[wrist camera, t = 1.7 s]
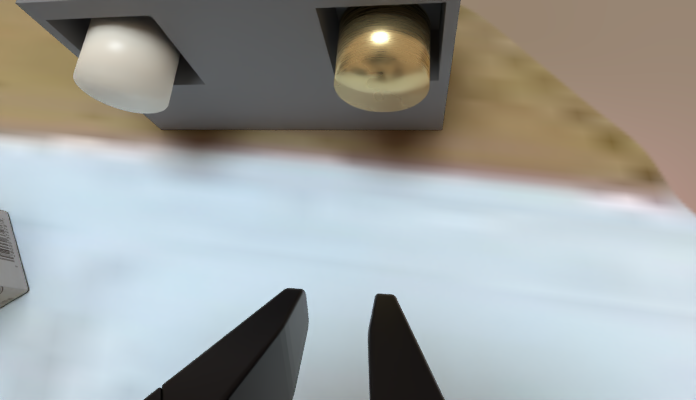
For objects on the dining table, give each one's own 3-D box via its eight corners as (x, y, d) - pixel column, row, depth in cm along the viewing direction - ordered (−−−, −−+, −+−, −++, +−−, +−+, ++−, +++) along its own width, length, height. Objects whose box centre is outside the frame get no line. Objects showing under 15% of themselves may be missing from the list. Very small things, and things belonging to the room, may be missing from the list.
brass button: (427, 111, 20) (431, 56, 16) (341, 112, 20) (325, 59, 16) (428, 56, 20) (432, -8, 17) (346, 58, 21) (332, -4, 17)
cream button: (184, 113, 21) (136, 63, 18) (112, 113, 22) (51, 66, 18) (195, 62, 22) (152, 5, 19) (126, 64, 23) (70, 9, 19)
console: (441, 129, 25) (465, -37, 14) (161, 129, 28) (0, -10, 17) (442, 45, 27) (464, -161, 16) (179, 52, 30) (44, -118, 19)
